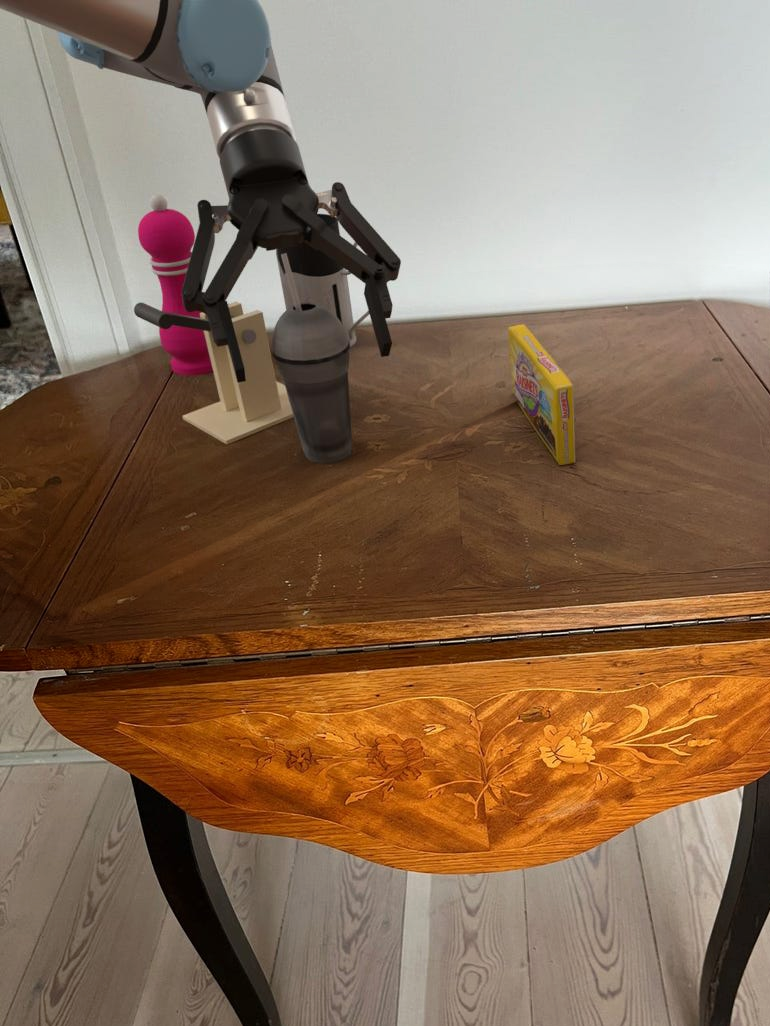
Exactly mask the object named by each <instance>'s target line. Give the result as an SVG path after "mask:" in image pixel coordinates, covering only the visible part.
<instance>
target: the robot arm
mask: <svg viewBox="0 0 770 1026" xmlns="http://www.w3.org/2000/svg"><path fill="white" fill-rule="evenodd" d="M0 9H1V10H3V11H6V12H8V13H11V14H13V15H16V16H18V17H21V18H23V19H26V20H28V21H31V22H33V23H36V24H38V25H41V26H44V27H46V28H48V29H51V30H53V31H56V32H57V36H58V39H59V42H60V44H61V46H62V48H63V49H64V51H65V52H66V53H67V54H68V55H69V56H70V57H72V58H74V59H76V60H79V61H81V62H84V63H88V64H90V65H94V66H96V67H97V68H98V69H100V70H104V69H107V70H111V71H114V72H118V73H121V74H125V75H129V76H133V77H136V78H139V79H143V80H147V81H152V82H156V83H160V84H164V85H167V86H171V87H174V88H177V89H180V90H183V91H188V92H193V93H196V94H199V95H200V97H201V100H202V103H203V106H204V109H205V112H206V117H207V121H208V124H209V128H210V132H211V135H212V139H213V144H214V147H215V151H216V154H217V156H218V159H219V165H220V170H221V174H222V177H223V180H224V184H225V188H226V192H227V195H228V203H227V205H226V204H225V205H212V204H211V202H210V201H209V200H207V199H201V200H199V201H198V202H197V204H196V205H197V213H198V221H199V224H198V228H197V231H196V234H195V241H194V244H193V246H192V249H191V252H192V254H191V258H190V261H189V265H188V269H187V273H186V276H185V280H184V284H183V288H182V291H181V295H182V299H183V304H184V308H185V310H186V311H188V312H191V313H192V312H195V311H200V312H203V313H205V314H206V315H207V317H208V321H209V324H210V328H211V332H212V336H213V340H214V343H215V344H216V345H217V347H219V346H225V345H228V348H229V352H230V355H231V359H232V363H233V367H234V371H235V375H236V379H237V382H244V381H246V378H245V369H244V365H243V361H242V357H241V353H240V349H239V346H238V342H237V338H236V334H235V330H234V327H233V323H232V319H231V315H230V311H229V307H228V304H229V303H228V301H227V299H228V298H229V295H230V294H231V292H232V291H233V288H234V287H235V285H236V283H237V281H238V280H239V278H240V276H241V275H242V273H243V271H244V269H245V268H246V266H247V264H248V263H249V261H251V260H252V259H253V257H254V255H255V253H256V251H257V250H258V249H259V248H262V249H265V250H266V252H269V251H276V249H278V248H280V247H297V246H299V243H301V242H303V241H304V242H305V243H307V244H308V245H309V246H311V247H312V248H314V249H316V250H320V251H322V252H323V253H324V254H326V255H327V256H328V257H330V258H331V259H333V260H334V261H335V262H337V263H338V264H339V265H341V266H342V267H343V268H345V269H346V271H349V272H350V273H352V274H351V275H353V276H354V277H355V278H357V279H358V280H359V281H361V282H362V283H363V284H364V291H363V296H364V299H365V302H366V306H367V309H368V310H369V317H370V320H371V324H372V328H373V332H374V336H375V339H376V343H377V346H378V350H379V353H380V357H381V358H384V357H389V356H390V353H391V349H392V346H393V340H392V337H391V334H390V330H389V326H388V323H387V319H391V316H392V312H393V305H394V304H393V302H392V297H391V294H390V290H389V287H388V282H390V281H391V282H393V281H396V280H397V279H398V277H399V273H400V269H401V263H402V260H401V258H400V257H399V255H397V253H395V251H394V250H393V249H392V247H390V245H389V244H388V243H387V242H386V241H385V240H384V239H383V237H381V235H380V234H379V233H378V232H377V230H376V229H375V228H374V227H373V226H372V225H371V223H369V221H367V219H366V218H365V217H364V215H363V214H362V213H361V212H360V211H359V210H358V209H357V207H355V205H354V204H353V203H352V201H351V200H350V196H349V194H348V192H347V189H346V186H345V185H344V184H343V183H342V182H340V181H335V182H334V183H333V184H332V185H331V189H330V190H325V191H321V192H317V193H316V192H315V190H314V189H312V187H311V185H310V183H309V180H308V176H307V172H306V169H305V164H304V162H303V158H302V154H301V151H300V150H301V149H300V147H299V144H298V142H297V137H296V133H295V129H294V126H293V122H292V119H291V115H290V111H289V109H288V105H287V101H286V97H285V93H284V90H283V86H282V82H281V78H280V74H279V71H278V66H277V62H276V57H275V54H274V51H273V47H272V41H271V40H272V39H271V31H270V26H269V21H268V17H267V15H266V13H265V10H264V9H263V6H262V4H261V3H260V2H259V0H0ZM320 209H322V210H324V211H326V212H327V213H328V215H330V216H331V217H336V218H337V220H338V224H339V226H341V228H342V229H343V230H344V231H345V232H346V233H347V234H348V236H350V238H351V239H352V240H353V241H354V243H355V242H356V243H357V244H358V245H357V247H355V246H353V243H351V242H349V241H348V240H347V239H345V237H342V236H341V234H340V235H339V234H337V233H336V232H335V231H333V230H332V229H331V228H329V227H328V226H327V225H326V223H325V221H324V220H323V219H321V218H320V217H319V216H317V214H319V210H320ZM227 222H230V224H231V225H233V227H234V228H236V229H237V230H238V232H237V234H236V237H235V239H234V241H233V243H232V245H231V247H230V248H229V251H228V252H227V253H226V255H225V257H224V259H223V260H222V262H221V264H220V266H219V267H218V269H217V271H216V272H215V274H214V275H213V278H212V279H211V281H210V283H209V285H208V286H207V288H206V289H205V291H203V288H204V285H205V282H206V278H207V274H208V270H209V267H210V262H211V259H212V255H213V251H214V247H215V244H216V243H215V242H216V234H219V233H220V232H222V230H223V228H224V224H225V223H227ZM358 247H360V249H361V250H360V249H359V248H358ZM368 310H367V311H368Z"/></svg>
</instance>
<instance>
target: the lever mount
mask: <svg viewBox="0 0 770 1026" xmlns="http://www.w3.org/2000/svg"><path fill="white" fill-rule="evenodd" d="M227 304H228V307H229V311H230V315H231V316H235V318H232V323H233V327H234V330H235V334H236V338H237V342H238V346H239V349H240V353H241V357H242V361H243V365H244V369H245V378H246V381H244V382H237V379H236V375H235V371H234V367H233V363H232V359H231V355H230V352H229V348H228V345H225V346H219V347H217V345H216V344H215V343H214V340H213V336H212V332H210V331H204V334H205V338H206V343H207V347H208V351H209V355H210V359H211V364H212V368H213V371H212V372H213V377H214V380H215V385H216V388H217V389H216V390H217V392H218V397H219V401H217V402H215V403H212V404H210V405H206V406H204V407H201V408H198V409H196V410H194V411H191V412H189V413H186V414H183V415H182V417H181V418H182V420H183V421H185V422H187V423H189V425H192V426H194V427H196V428H198V429H199V430H200V431H202V432H204V433H206V434H207V435H209V436H211V437H213V438H215V439H217V440H218V441H220V442H221V443H224V444H225V445H229V444H232V443H234V442H236V441H240V440H242V439H243V438H245V437H249V436H252V435H254V434H256V433H258V432H261V431H263V430H266V429H269V428H271V427H273V426H276V425H278V424H280V423H283V422H285V421H288V420H290V419H292V418H293V419H294V416H293V412H292V409H291V405H290V402H289V398H288V395H287V391H286V387H285V384H284V383H281V382H279V381H277V380H276V379H277V378H276V374H275V369H274V364H273V358H272V354H271V348H270V342H269V338H268V333H267V328H266V323H265V318H264V313H263V311H261V310H258V309H256V310H253V311H250V312H247V313H244V309H243V305H242V303H241V302H239V301H233V302H230V303H227ZM200 317H201V318H202V319H208V317H207V315H206V314H205V313H203V312H202V313H200Z"/></svg>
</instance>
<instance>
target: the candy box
mask: <svg viewBox="0 0 770 1026" xmlns="http://www.w3.org/2000/svg"><path fill="white" fill-rule="evenodd" d="M508 341H509V342H508V345H509V357H510V358H509V359H510V372H511V383H512V393H513V395H514V396H515V397H516V399H517V400H516V403H517V405H518V406H519V408H520V409H521V410H522V412H523V413H524V415H525V417H526V418H527V420H528V422H529V423H530V424H531V426H532V427H533V429H534V431H535V432H536V433H537V435H538V436H539V438H540V439H541V441H542V442H543V443H544V445H545V446H546V448H547V450H548V451H549V452H550V454H551V455H552V456H553V459H555V461H556V463H557V464H558V466H564V465H570V464H575V463H576V438H575V437H576V436H575V435H576V433H575V406H574V405H575V402H574V401H575V399H574V384H573V383H572V382H571V380H570V379H569V378H568V376H567V375H566V374H565V372H564V371H563V370H562V369H561V367H560V366H559V365H558V364H557V362H556V361H555V360H554V359H553V358H552V357H551V355H550V354H549V353H548V351H546V349H545V348H544V346H543V345H542V344H541V343H540V342H539V340H538V339H537V338H536V337H535V335H533V334H532V332H531V330H529V329H528V327H527V326H526V325H525V324H523V323H522V324H517V325H512V326H508Z"/></svg>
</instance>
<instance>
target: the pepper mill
mask: <svg viewBox="0 0 770 1026" xmlns="http://www.w3.org/2000/svg"><path fill="white" fill-rule="evenodd" d="M149 205H150V207H151V211H149V212H147V213H146V214H145V215H143V217H141V219H140V221H139V223H138V227H137V235H138V241H139V244H140V246H141V248H142V249H143V250H144V251H145V252H146V253H147V254H148V255H150V256H151V257H150V258H149V264H150V265H151V272H152V273H153V274H154V275H156V276H157V278H158V281H159V284H160V291H161V296H162V297H161V298H162V304H161V305H162V306H161V311H163V312H169V313H175V314H180V315H186V316H191V317H197V318H201V317H200V313H202V312H200V311H195V312H192V313H191V312H188V311H186V310H185V308H184V304H183V299H182V295H181V291H182V288H183V284H184V280H185V276H186V273H187V269H188V265H189V261H190V258H191V254H192V249H193V246H194V243H195V239H196V233H195V230H194V227H193V225H192V223H191V221H190V220H189V218H188V217H187V216H186V215H185V214H184V213H182V212H180V211H179V210H176V209H171V208H168V201H167V199H166V197H164V196H163V195H162V194H154V195H153V196H151V198H150V200H149ZM158 330H159V331H158V334H159V340H160V344H161V346H162V349H163V350H164V351H165V352H166V353H168V354H169V355H170V356H172V358H171V359H170V366H171V370H172V372H173V373H175V374H178V375H181V376H197V375H203V374H208V373H211V372H213V368H212V364H211V359H210V355H209V351H208V347H207V343H206V338H205V334H204V330H198V329H192V328H186V327H180V326H174V325H172V326H171V327H170V328H169V329H162V328H160V327H158Z"/></svg>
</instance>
